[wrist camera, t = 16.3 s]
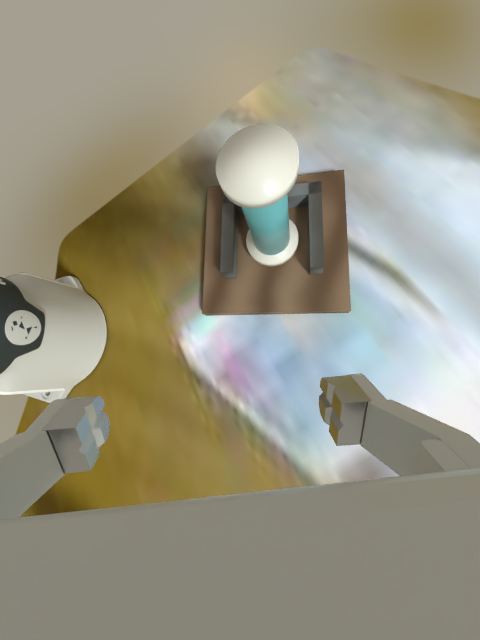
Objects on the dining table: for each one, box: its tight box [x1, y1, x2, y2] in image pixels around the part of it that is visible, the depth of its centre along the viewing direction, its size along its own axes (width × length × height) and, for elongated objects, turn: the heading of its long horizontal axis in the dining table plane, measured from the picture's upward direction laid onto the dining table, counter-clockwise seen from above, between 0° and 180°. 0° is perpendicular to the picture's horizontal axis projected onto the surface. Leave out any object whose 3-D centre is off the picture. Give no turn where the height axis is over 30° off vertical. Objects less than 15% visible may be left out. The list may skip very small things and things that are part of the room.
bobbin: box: [216, 124, 299, 267], centre depth 27 cm, size 6×6×14 cm
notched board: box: [202, 170, 351, 315], centre depth 33 cm, size 18×18×4 cm
